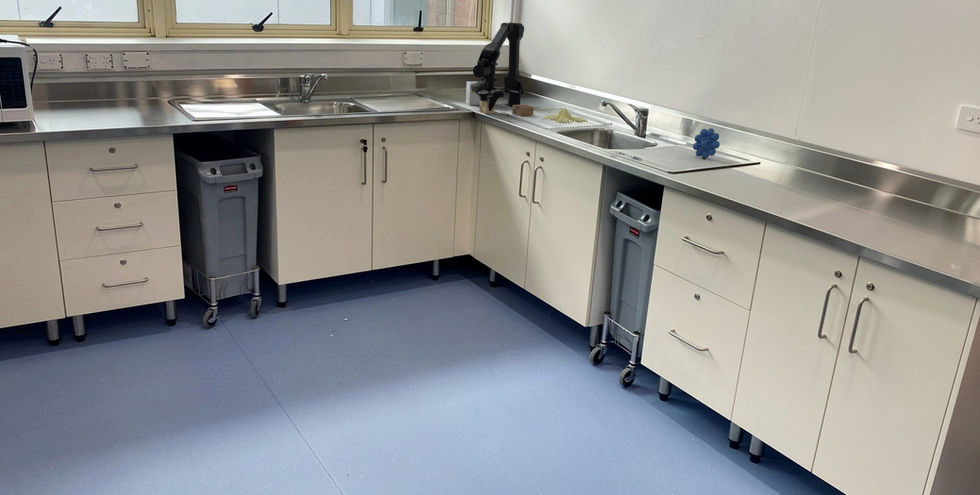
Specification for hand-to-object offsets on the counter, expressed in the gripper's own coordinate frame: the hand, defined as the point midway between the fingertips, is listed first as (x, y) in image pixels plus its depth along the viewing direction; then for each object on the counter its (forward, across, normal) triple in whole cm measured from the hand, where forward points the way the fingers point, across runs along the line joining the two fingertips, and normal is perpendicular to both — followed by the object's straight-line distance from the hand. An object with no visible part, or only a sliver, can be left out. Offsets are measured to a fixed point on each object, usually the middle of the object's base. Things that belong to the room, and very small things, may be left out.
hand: (486, 109), depth 381 cm
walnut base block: (+1, +9, +14) cm, 17 cm away
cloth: (+2, +24, +26) cm, 35 cm away
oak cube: (+1, 0, 0) cm, 1 cm away
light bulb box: (+2, -21, +8) cm, 23 cm away
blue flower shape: (+2, +107, +31) cm, 111 cm away
